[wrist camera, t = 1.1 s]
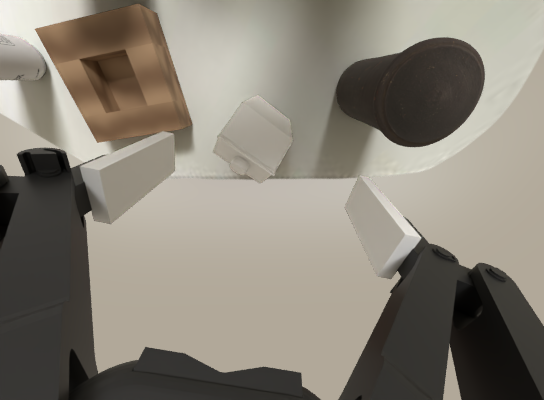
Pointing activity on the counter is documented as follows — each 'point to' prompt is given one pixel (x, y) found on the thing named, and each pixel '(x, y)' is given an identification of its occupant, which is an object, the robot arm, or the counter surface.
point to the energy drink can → (19, 59)
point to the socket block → (118, 72)
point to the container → (415, 91)
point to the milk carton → (255, 139)
